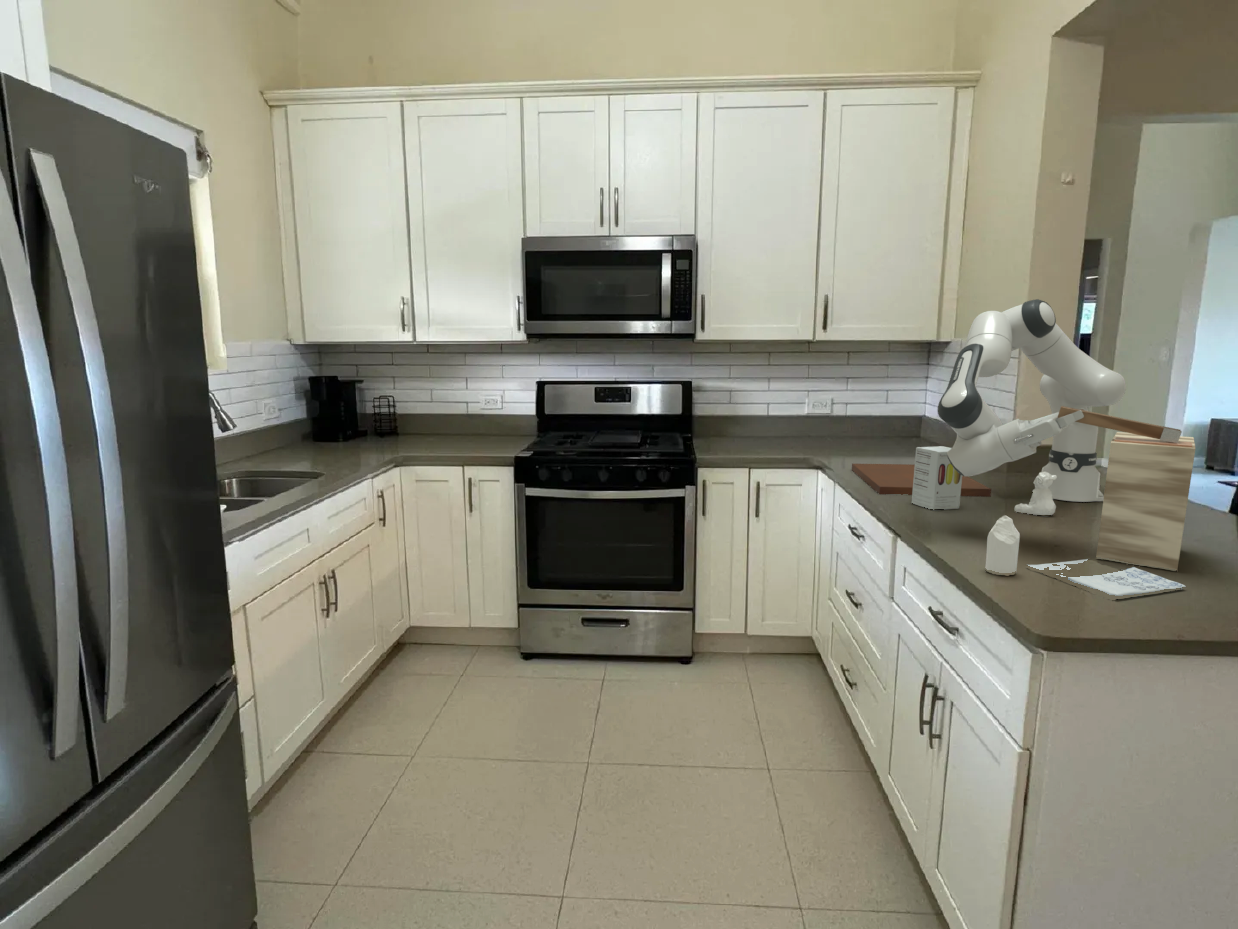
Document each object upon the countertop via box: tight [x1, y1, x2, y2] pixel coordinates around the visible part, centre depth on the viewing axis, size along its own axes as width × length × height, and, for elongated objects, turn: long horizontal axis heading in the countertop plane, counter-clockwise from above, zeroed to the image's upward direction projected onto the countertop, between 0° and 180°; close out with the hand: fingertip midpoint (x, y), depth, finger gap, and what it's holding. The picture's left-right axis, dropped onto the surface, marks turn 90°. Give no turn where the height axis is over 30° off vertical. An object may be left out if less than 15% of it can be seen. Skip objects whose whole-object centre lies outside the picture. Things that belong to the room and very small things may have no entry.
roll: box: [985, 515, 1021, 573], centre depth 144 cm, size 6×12×6 cm
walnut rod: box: [1058, 406, 1183, 443], centre depth 152 cm, size 4×22×2 cm, turn 55°
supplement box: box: [911, 445, 962, 511], centre depth 200 cm, size 10×9×17 cm
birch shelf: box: [1095, 431, 1196, 571], centre depth 154 cm, size 20×14×26 cm
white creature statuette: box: [1013, 471, 1057, 516], centre depth 191 cm, size 10×9×12 cm
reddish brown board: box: [851, 462, 992, 498], centre depth 234 cm, size 40×3×33 cm
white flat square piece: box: [1027, 558, 1187, 596], centre depth 141 cm, size 19×20×2 cm
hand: (1084, 412), depth 155 cm, fingers closed on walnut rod, 3 cm apart
